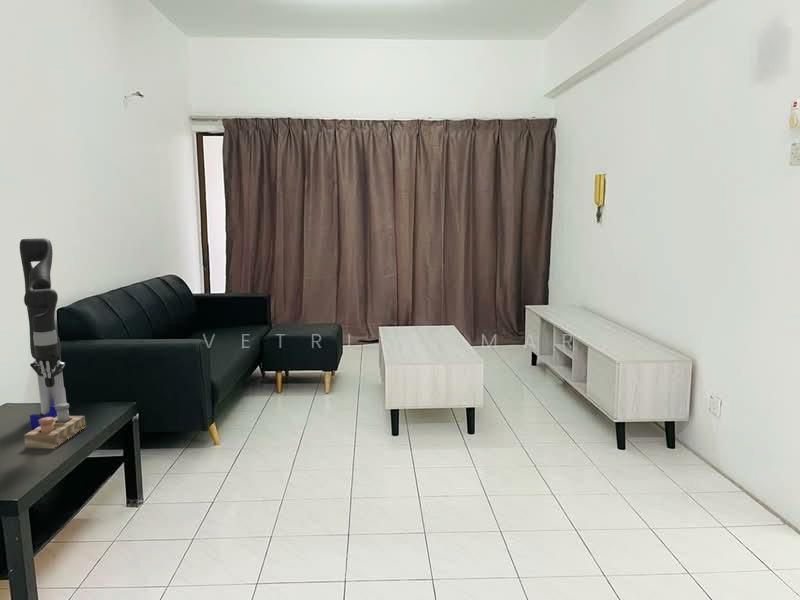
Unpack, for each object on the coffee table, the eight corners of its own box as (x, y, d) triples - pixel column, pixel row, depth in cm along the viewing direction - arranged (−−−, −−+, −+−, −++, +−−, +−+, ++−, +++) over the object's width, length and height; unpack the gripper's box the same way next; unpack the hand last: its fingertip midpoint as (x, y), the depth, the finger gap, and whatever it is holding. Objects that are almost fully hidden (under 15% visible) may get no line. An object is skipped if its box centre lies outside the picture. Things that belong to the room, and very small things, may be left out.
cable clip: (50, 419, 248) (49, 405, 247) (60, 419, 247) (58, 405, 246) (28, 429, 236) (26, 415, 235) (38, 430, 236) (36, 415, 235)
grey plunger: (61, 421, 234) (59, 403, 233) (73, 421, 234) (71, 403, 233) (54, 426, 230) (52, 407, 228) (66, 426, 229) (64, 407, 228)
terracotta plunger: (46, 436, 225) (44, 416, 224) (58, 436, 225) (56, 416, 223) (37, 441, 220) (35, 421, 219) (50, 441, 220) (48, 421, 219)
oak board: (58, 427, 238) (57, 415, 237) (85, 428, 237) (84, 416, 236) (25, 448, 218) (24, 435, 217) (54, 448, 217) (53, 435, 217)
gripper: (69, 340, 225) (73, 384, 228) (35, 339, 225) (40, 383, 228) (56, 345, 217) (61, 390, 220) (21, 344, 218) (26, 389, 221)
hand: (50, 386), depth 224 cm, fingers closed
